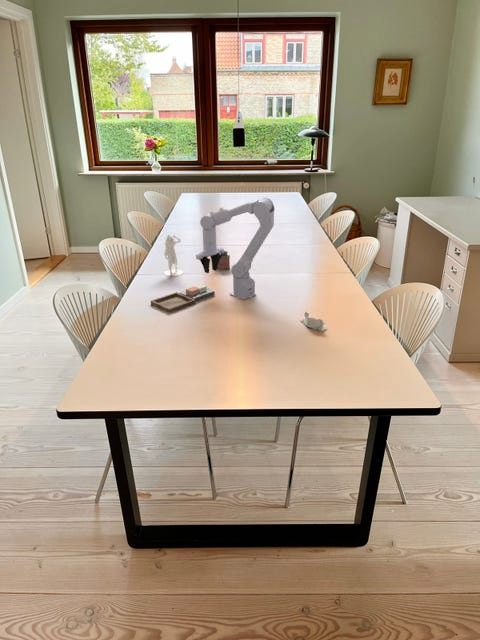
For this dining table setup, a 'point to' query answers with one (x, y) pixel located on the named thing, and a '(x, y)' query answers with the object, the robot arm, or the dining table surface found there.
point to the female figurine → (171, 256)
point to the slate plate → (200, 295)
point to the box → (173, 302)
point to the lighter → (224, 262)
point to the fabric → (313, 322)
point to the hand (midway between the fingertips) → (210, 271)
